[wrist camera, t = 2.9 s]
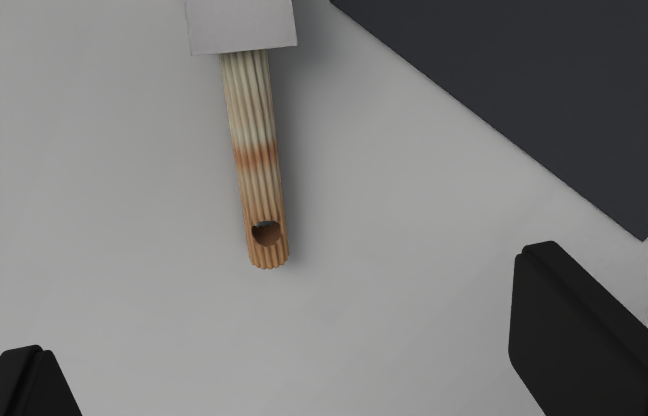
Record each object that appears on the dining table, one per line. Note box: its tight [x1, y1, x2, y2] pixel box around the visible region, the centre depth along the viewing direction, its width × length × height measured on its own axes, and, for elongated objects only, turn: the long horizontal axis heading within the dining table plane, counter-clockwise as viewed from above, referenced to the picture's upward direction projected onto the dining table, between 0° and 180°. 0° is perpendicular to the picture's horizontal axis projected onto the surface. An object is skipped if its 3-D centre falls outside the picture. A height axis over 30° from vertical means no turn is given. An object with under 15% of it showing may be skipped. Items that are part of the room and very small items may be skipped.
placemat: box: [330, 0, 648, 242], centre depth 25 cm, size 22×10×1 cm, turn 53°
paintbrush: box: [185, 0, 298, 269], centre depth 21 cm, size 4×3×20 cm
